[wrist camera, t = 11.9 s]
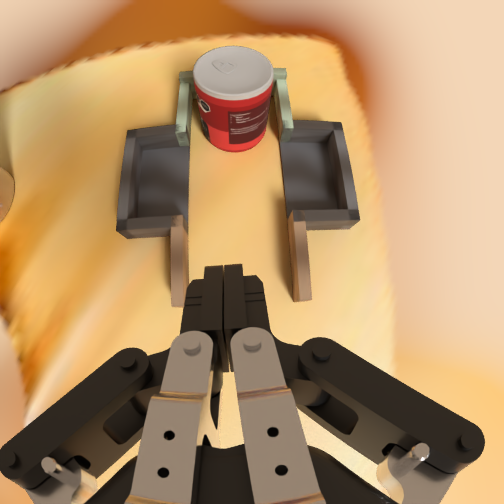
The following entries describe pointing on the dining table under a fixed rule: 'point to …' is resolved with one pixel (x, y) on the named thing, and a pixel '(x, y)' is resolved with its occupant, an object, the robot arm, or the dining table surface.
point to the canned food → (233, 96)
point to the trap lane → (294, 174)
